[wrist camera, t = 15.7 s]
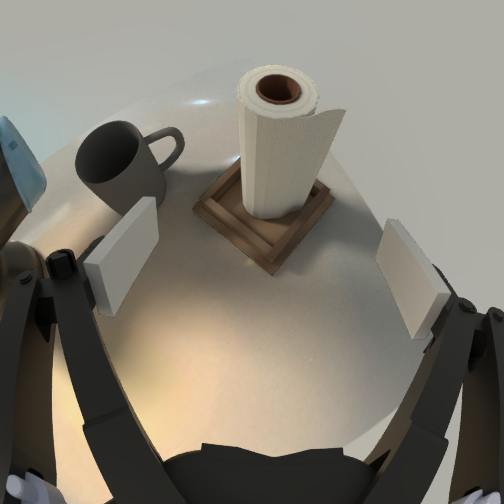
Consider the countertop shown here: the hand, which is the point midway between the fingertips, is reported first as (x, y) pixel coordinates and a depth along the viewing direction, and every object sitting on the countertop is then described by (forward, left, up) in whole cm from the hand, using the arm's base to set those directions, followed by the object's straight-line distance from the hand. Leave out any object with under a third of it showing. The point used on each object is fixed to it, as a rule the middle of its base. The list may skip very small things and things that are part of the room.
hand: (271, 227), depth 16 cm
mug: (-21, +1, -23) cm, 31 cm away
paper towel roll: (-6, +9, -22) cm, 24 cm away
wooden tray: (-6, +9, -23) cm, 25 cm away
